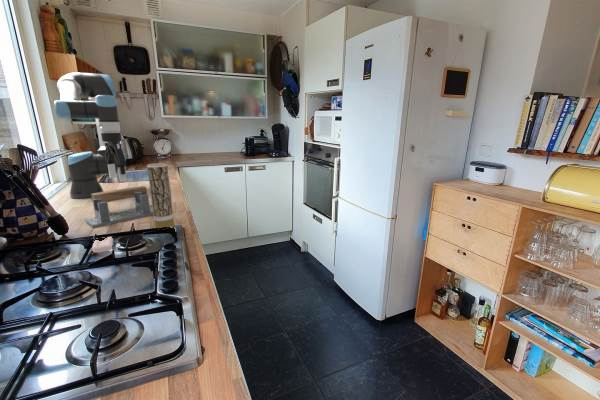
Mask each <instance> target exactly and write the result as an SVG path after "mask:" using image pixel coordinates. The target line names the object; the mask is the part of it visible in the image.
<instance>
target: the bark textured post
mask: <svg viewBox="0 0 600 400" xmlns="http://www.w3.org/2000/svg"><path fill="white" fill-rule="evenodd" d="M146 167H147V174H148V182H149V183H148V184H149V189H150V198H151V207H153V221H154V222H153V223H154V228H155V229H156V228H162V227H170V226H174V227H175V222H174V213H173V204H172V203H173V202H172V195H171V194H172V193H171V185H170V177H169V167H168V163H165V162H163V163H162V162H161V163H160V162H158V163H157V162H155V163H149V164H147V166H146Z"/></svg>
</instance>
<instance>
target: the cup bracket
mask: <svg viewBox="0 0 600 400" xmlns="http://www.w3.org/2000/svg"><path fill="white" fill-rule="evenodd" d="M134 198H135V202H134V206H135V209H130V210H125V211H120V212H119V211H118V212H116V213H115V212H114V213H110V210H109V211H108V208H109V204H108V205H107V203H108V202H102V199H101V198H100V199H94V200H93V202H92V204H93V205H92V206H93V211H94V215H95V217H90V218H85V219H84V220H85V223H86V224H88V225H89V226H90V227H91V228H92V229H93V228H98V227H103V226H107V225H112V224H116V223H121V222H126V221H130V220H135V219H138V218H143V217H144V218H145V217H148V216H152V215H153V207H152V206H151V205H150V200H149V194H147V195H142V192H137V193H134ZM134 198H133V199H134ZM153 216H154V215H153Z"/></svg>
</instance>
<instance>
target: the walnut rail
mask: <svg viewBox="0 0 600 400" xmlns="http://www.w3.org/2000/svg"><path fill="white" fill-rule="evenodd" d="M137 192H142V195H148V192H147V186H143V185H140V186H133V187H127V188H121V189H120V188H119V189H113V190H108V191H107V190H106V191H103V192H100V193H93V194H91V196H92V197H91V200H92V203H93V200H94V199H100V198H101V199H102V202H107V203H109V202H115V201H121V200H128V199H134V193H137Z"/></svg>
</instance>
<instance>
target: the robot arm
mask: <svg viewBox="0 0 600 400" xmlns="http://www.w3.org/2000/svg"><path fill="white" fill-rule="evenodd" d="M56 87H57V90H58V91H59V93H60V94H59V95H60V99H59V100H57V99H56V100H54V109H55V113H56V116H57V118H59V119H67V120H70V119H71V120H73V119H81V120H82V119H94V120H95V125H96V130H97V136H98V143H99V148H98V149H97V153H94V152H93V151H82V152H77V153H73V154H70V155H68V156H67V166H68V169H69V175H70V179H71V180H70V181H71V187H70V192H69V196H70V198H71V199H90V198H92V196H91V194H93V193H100V192H104V189H103V187H102V185H101V184H100V182H99V180H98V176H106V175H109V179H116V178H119V183H123V182H128V178H127V177H128V176H127V171H126V166H127V165H128V164H127V158H126V152H123V147H122V144H121V143H118V142H121V141H122V140H123V139H122V133H121V125H120V119H119V113H118V103H117V100H116V97H117V93H116V90H115V85H114V82H113V79H112V77H111V76H110V75H108V74H104V73H92V72H91V73H90V72H77V71H76V72H70V73H66V74H65V75H63V76H61V77H60V78H59V79H58V81H57V84H56ZM81 97H87V98H88V100H81ZM117 174H118V177H117Z"/></svg>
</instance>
